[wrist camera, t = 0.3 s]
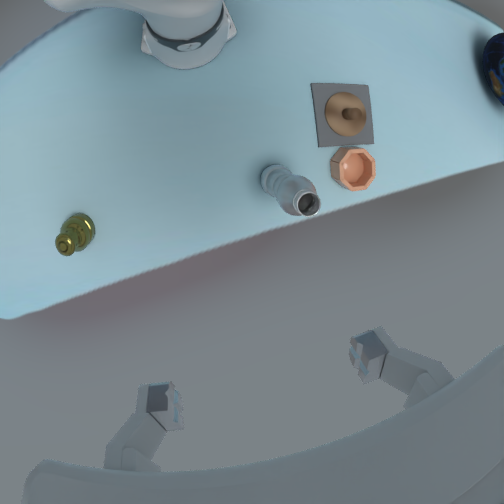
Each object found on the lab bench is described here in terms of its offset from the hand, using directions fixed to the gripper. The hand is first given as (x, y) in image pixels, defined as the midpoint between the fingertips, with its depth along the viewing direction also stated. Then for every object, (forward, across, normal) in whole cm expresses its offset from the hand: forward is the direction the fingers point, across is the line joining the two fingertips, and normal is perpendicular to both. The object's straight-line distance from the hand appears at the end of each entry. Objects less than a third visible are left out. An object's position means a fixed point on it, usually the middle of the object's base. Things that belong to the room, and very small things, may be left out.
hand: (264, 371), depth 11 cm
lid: (+46, -30, -9) cm, 56 cm away
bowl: (+47, -29, +3) cm, 55 cm away
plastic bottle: (+47, -12, +3) cm, 49 cm away
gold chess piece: (+47, +32, +3) cm, 57 cm away
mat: (+47, -30, -9) cm, 56 cm away
